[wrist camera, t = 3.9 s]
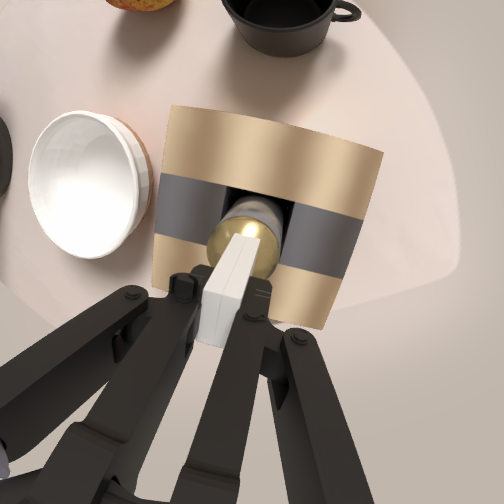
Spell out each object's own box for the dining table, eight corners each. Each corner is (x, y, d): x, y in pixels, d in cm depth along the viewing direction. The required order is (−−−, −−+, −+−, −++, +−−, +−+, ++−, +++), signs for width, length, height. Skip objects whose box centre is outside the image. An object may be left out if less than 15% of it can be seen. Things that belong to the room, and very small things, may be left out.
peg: (230, 230, 27) (202, 276, 19) (239, 183, 25) (212, 211, 17) (277, 241, 27) (269, 293, 19) (289, 195, 25) (286, 229, 17)
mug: (349, 68, 25) (369, 47, 17) (234, 55, 26) (211, 30, 18) (353, -3, 21) (371, -40, 13) (243, -15, 22) (226, -55, 14)
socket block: (186, 245, 36) (151, 286, 27) (207, 110, 29) (171, 104, 20) (316, 278, 35) (321, 330, 26) (356, 144, 28) (383, 152, 19)
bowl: (174, 107, 29) (140, 104, 22) (169, 242, 36) (141, 271, 29) (67, 115, 31) (25, 119, 23) (71, 228, 37) (36, 249, 30)
